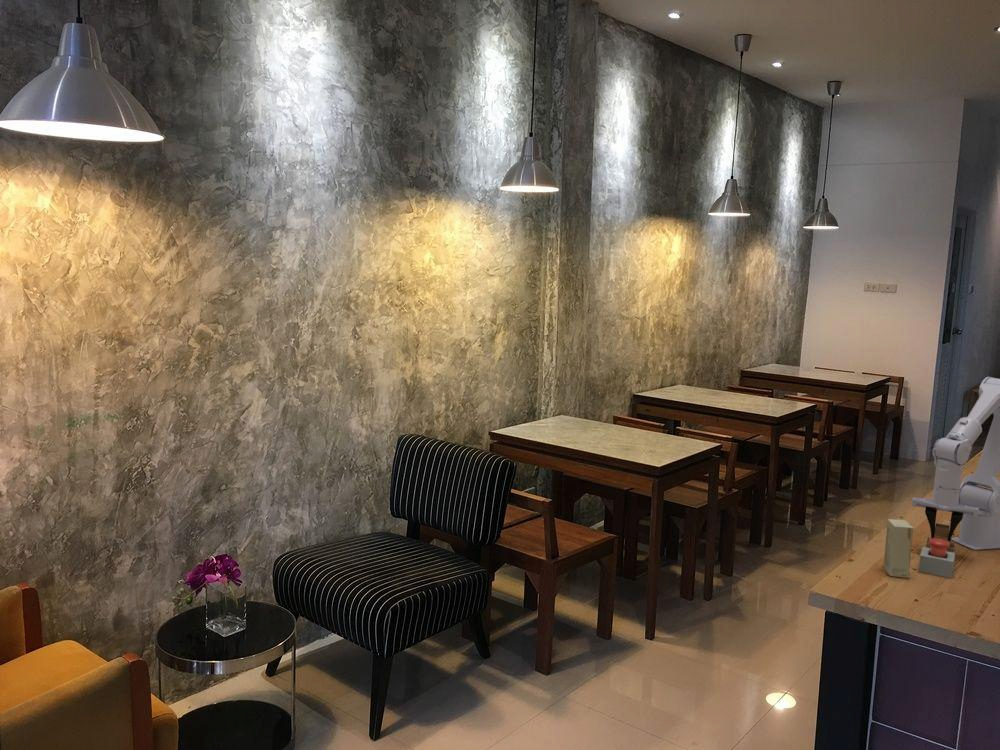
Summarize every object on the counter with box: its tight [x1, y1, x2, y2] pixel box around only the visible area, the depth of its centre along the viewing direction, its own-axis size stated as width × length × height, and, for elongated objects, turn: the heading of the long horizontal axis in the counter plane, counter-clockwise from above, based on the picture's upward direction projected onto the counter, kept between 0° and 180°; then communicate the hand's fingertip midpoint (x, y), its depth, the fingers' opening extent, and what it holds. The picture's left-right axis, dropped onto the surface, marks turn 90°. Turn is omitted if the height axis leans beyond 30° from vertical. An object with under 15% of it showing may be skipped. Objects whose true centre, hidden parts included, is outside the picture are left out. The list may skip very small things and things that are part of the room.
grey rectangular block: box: [918, 546, 956, 579], centre depth 195 cm, size 7×7×4 cm
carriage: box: [925, 522, 956, 553], centre depth 205 cm, size 6×6×7 cm
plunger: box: [929, 538, 950, 558], centre depth 194 cm, size 4×4×5 cm
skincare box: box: [882, 518, 914, 579], centre depth 192 cm, size 6×4×12 cm
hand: (940, 538), depth 205 cm, fingers closed on carriage, 3 cm apart
